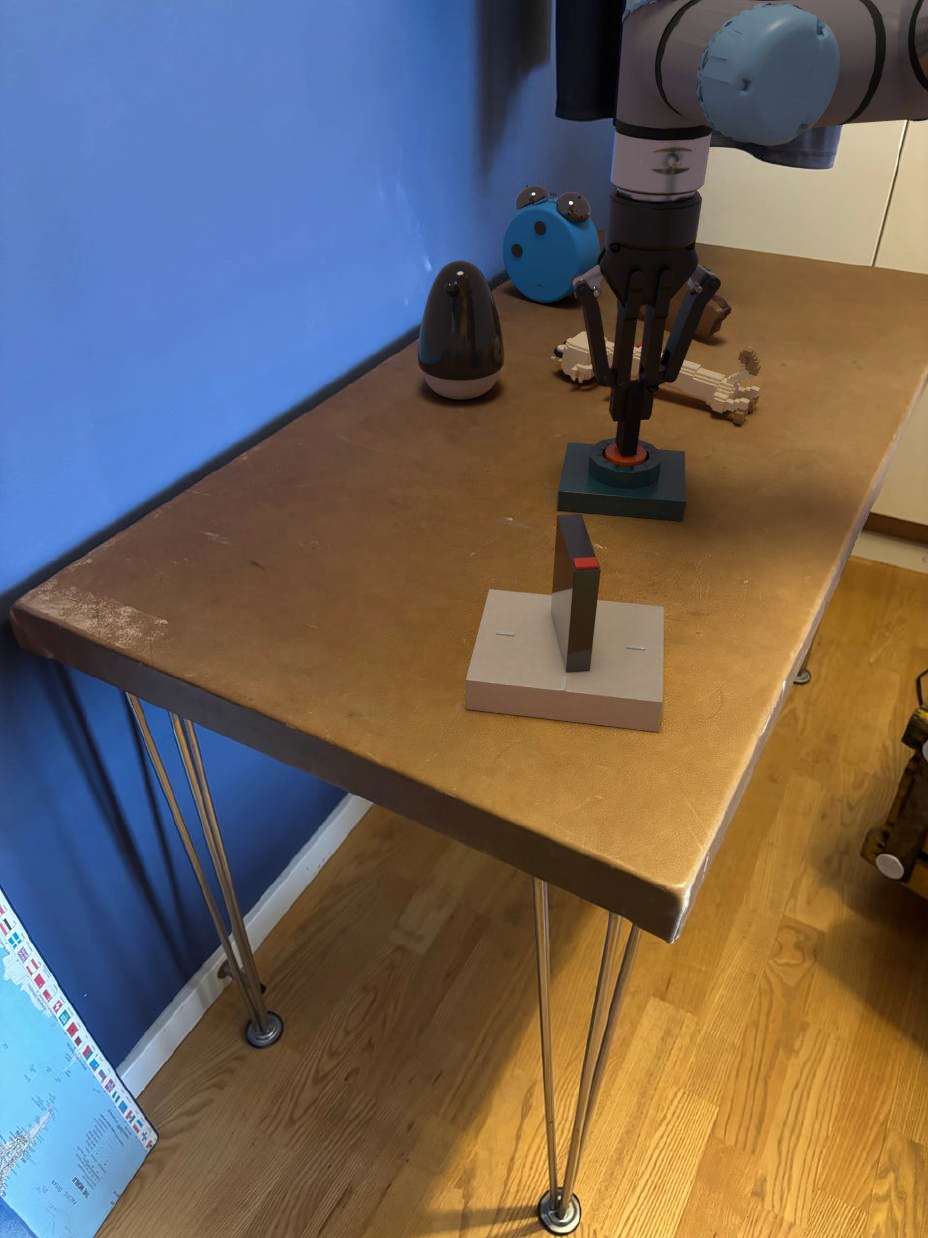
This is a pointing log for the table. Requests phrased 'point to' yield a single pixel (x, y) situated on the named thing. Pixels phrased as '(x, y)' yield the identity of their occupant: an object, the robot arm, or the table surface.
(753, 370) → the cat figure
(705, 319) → the wooden carving
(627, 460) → the button
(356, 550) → the table surface
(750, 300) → the table surface
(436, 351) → the dark egg shaped device
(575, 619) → the tap handle
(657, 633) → the plate
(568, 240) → the alarm clock
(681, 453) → the button block
